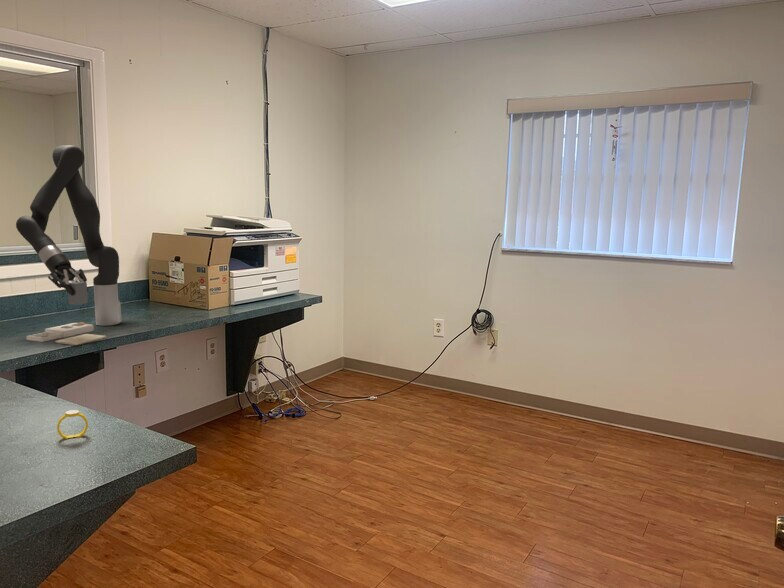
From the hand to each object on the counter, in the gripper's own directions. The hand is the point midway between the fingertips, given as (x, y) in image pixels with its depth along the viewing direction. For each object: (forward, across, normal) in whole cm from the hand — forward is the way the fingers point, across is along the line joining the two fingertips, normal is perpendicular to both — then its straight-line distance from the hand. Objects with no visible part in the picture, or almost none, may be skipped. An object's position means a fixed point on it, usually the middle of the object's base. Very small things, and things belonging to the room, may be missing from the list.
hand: (80, 292), depth 223 cm
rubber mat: (+12, 0, +14) cm, 18 cm away
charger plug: (+2, 0, +4) cm, 4 cm away
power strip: (+2, +3, +23) cm, 24 cm away
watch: (+67, -70, -41) cm, 105 cm away
